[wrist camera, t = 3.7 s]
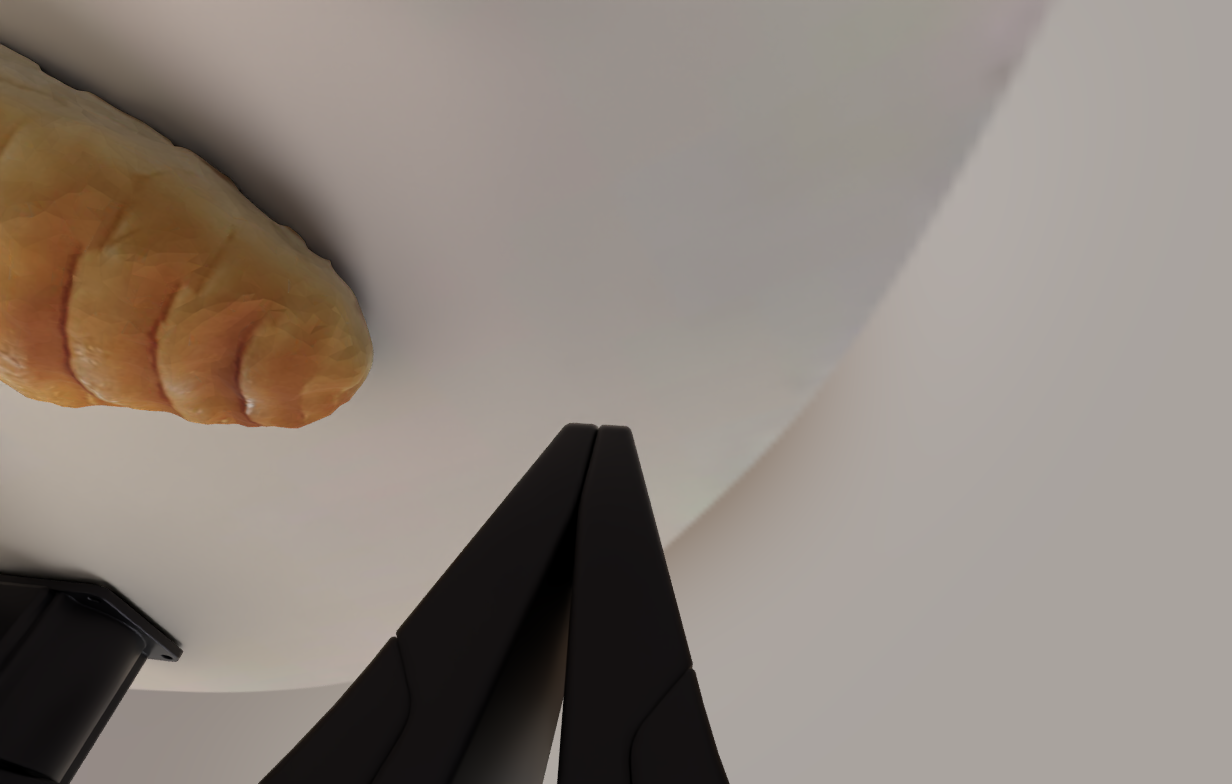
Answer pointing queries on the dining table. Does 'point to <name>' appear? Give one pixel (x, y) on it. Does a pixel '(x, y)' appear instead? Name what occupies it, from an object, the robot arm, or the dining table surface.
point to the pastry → (155, 274)
